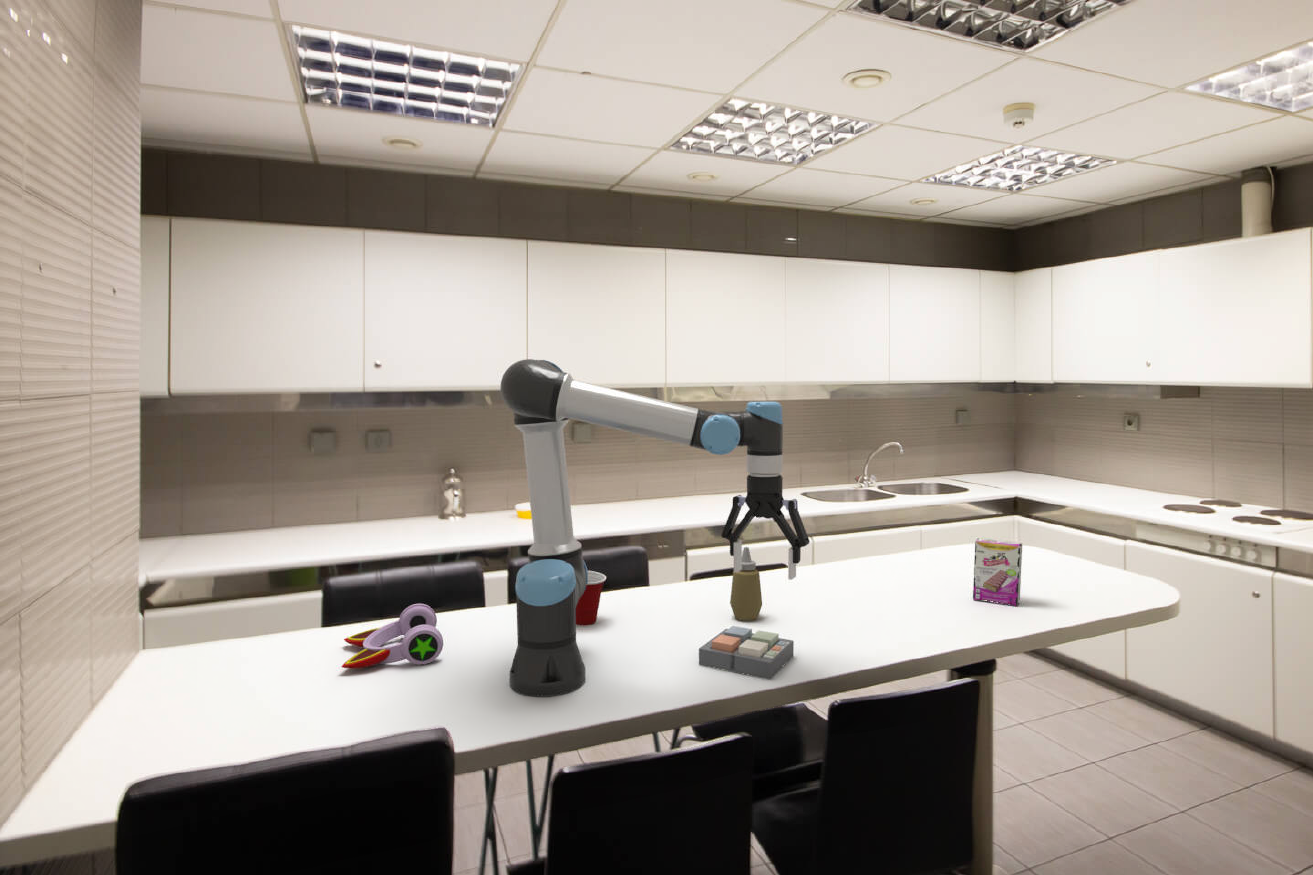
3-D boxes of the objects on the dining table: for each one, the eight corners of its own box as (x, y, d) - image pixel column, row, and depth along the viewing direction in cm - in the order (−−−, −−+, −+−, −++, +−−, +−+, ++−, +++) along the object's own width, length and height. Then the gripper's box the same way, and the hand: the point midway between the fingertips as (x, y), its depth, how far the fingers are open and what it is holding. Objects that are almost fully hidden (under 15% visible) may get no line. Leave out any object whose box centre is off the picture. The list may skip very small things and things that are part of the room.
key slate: (743, 649, 158) (743, 635, 158) (724, 645, 161) (724, 631, 160) (751, 642, 162) (751, 629, 162) (732, 638, 165) (732, 625, 164)
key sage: (770, 654, 155) (770, 640, 155) (750, 650, 157) (750, 636, 157) (778, 647, 159) (778, 633, 159) (758, 643, 161) (758, 630, 161)
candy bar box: (972, 600, 197) (974, 540, 196) (975, 596, 202) (977, 537, 200) (1018, 607, 191) (1020, 545, 190) (1020, 602, 196) (1022, 542, 194)
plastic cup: (600, 630, 176) (599, 581, 175) (557, 627, 179) (556, 579, 178) (612, 616, 187) (611, 570, 186) (571, 613, 189) (570, 568, 188)
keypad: (770, 679, 147) (770, 660, 147) (698, 664, 155) (698, 646, 155) (793, 656, 159) (793, 638, 159) (726, 643, 167) (726, 626, 167)
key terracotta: (731, 658, 153) (731, 644, 152) (711, 655, 155) (711, 641, 155) (740, 651, 157) (740, 638, 156) (720, 647, 159) (720, 634, 159)
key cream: (759, 664, 150) (759, 650, 149) (738, 660, 152) (738, 646, 152) (767, 657, 154) (767, 643, 153) (747, 653, 156) (747, 639, 156)
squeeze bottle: (754, 625, 180) (754, 552, 178) (724, 619, 184) (724, 549, 182) (767, 615, 186) (767, 546, 185) (738, 610, 191) (738, 542, 189)
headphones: (445, 627, 157) (344, 628, 150) (441, 672, 157) (340, 675, 150) (437, 601, 175) (347, 601, 168) (433, 642, 176) (343, 643, 168)
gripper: (825, 475, 153) (824, 577, 155) (720, 469, 165) (720, 563, 166) (814, 479, 146) (813, 586, 148) (705, 473, 158) (706, 571, 160)
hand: (764, 574), depth 157 cm, fingers open, 12 cm apart
